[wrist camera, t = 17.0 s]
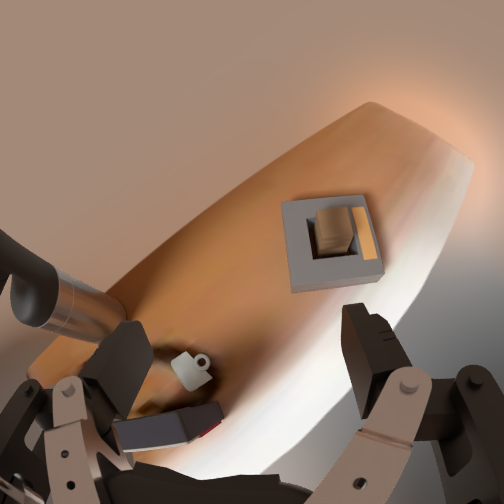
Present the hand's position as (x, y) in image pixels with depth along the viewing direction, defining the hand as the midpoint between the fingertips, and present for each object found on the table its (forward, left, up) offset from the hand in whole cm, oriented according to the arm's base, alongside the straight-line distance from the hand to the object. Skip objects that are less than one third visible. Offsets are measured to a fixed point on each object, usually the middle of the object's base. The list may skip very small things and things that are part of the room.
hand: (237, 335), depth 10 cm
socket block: (+10, +17, -31) cm, 36 cm away
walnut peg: (+10, +17, -31) cm, 36 cm away
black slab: (-14, -9, -31) cm, 35 cm away
